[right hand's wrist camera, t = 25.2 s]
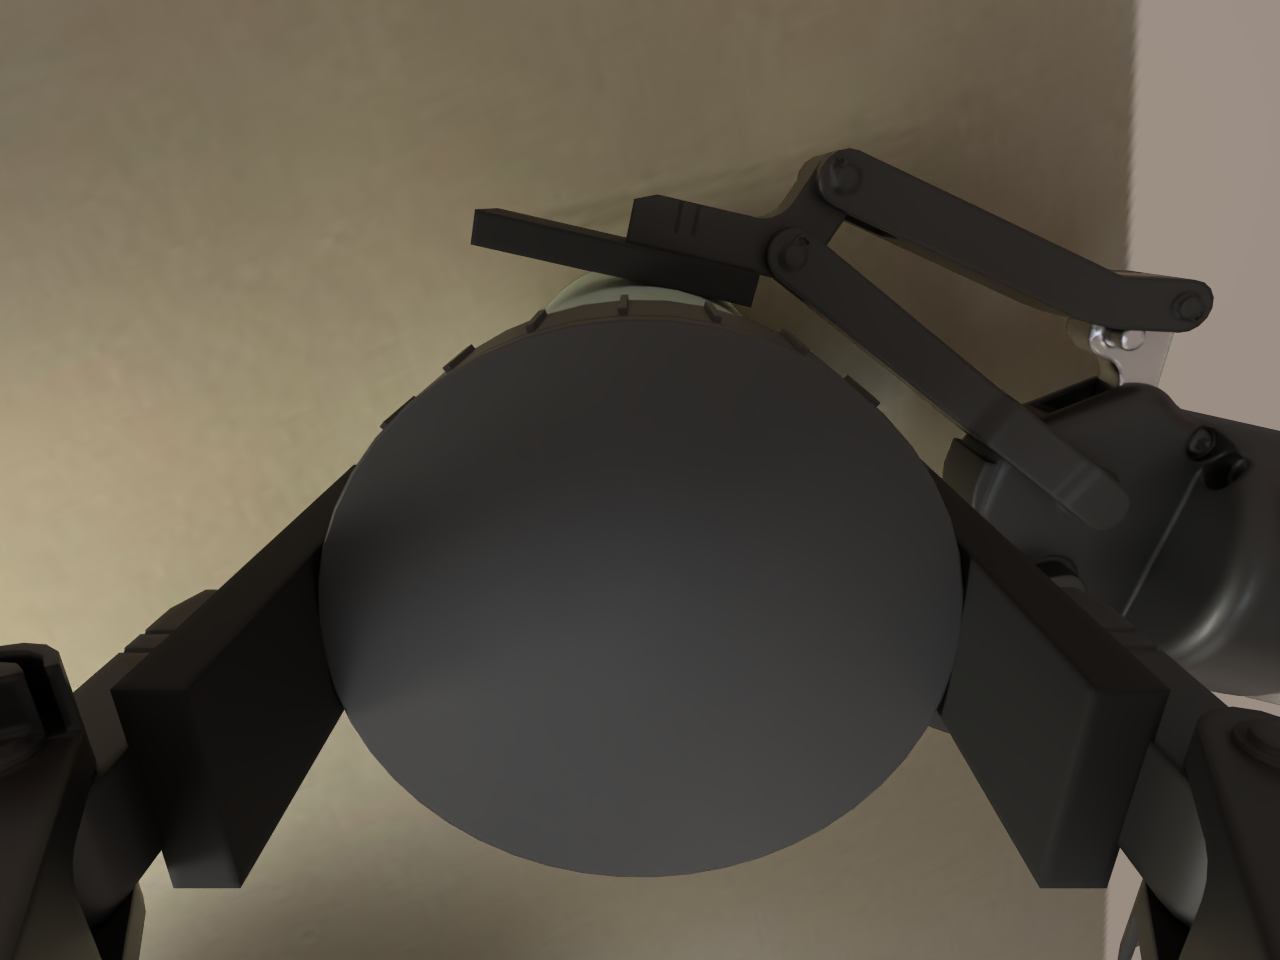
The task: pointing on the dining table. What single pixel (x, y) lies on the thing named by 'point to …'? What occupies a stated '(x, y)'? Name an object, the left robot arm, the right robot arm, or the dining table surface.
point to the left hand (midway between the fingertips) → (462, 400)
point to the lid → (640, 591)
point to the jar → (623, 293)
